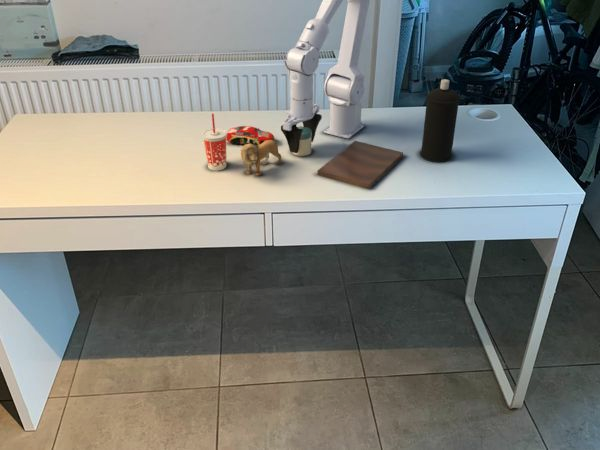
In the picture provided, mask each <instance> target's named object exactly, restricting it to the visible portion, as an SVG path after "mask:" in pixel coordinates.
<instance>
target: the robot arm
mask: <svg viewBox="0 0 600 450" xmlns="http://www.w3.org/2000/svg"><path fill="white" fill-rule="evenodd" d="M343 1H344V0H322V1H321V4H320V6H319V8H318V10H317V13H316V15H315V18H312V19H310V20H308V21H307V23H306V25H305V27H304V29H303V30H302V33H301V35H300V36H299V39H298V41H297V42H296V44H295V46H293V47H292V48H290V49H288V50H287V53H286V55H285V59H284V60H283V64H284V67H285V69H286V70H287V76H288V78H289V106H290V107H289V108H290V109H288V110H286V114H287V116H286V119H285V120H284V121H283V122H282V124H281V125H280V131H281V132H282V134H283V135H284V137H285V139H286V142H287V145H288V148H289V152H291V153H293V152H294V153H297V152H298V150H299V142H300V137H301V134H302V132H303V129H299V128H298V127H299V126H297V125H298V124H300V123H302V127H307V128H310V129H311V130H312V136H311V143H313V142H314V139H315V135H316V132H317V129H318V126H319V124H320V122H321V121H322V117H323V116H322V114H320V113H319V112H320V104H317V103H314V73H315V72H316V71H317V69H318V67H319V63H320V56H321V52H320V51H321V50H322V47H323V46H324V44H325V42H326V40H327V38H328V36H329V34H330V29H329V24H330V22H331V21H332V19H333V17H334V15H335V14H336V13H337V11H338V10H339V8H340V6H341V5H342V3H343ZM346 1H347V7H346V11H345V12H346V13H345V19H344V24H343V29H342V36H341V41H340V47H339V53H338V59H337V64H335V65H334V66H331V68H329V69H328V74H327V77H326V78H325V81H324V84H323V90H324V94H325V95H326V96H327V97H328V98H327V101H330V103H329V127H327V128H326V129H324V130H323V133H324V134H327V135H331V136H334V137H335V136H336V137H338V138H339V137H340V138H344V139H347V140H348V139H350V138H352V137H353V136H355V134H357V133H358V132H359V131H361V130H362V129H363V128H364V124H362V109H363V108H362V107H363V106H362V102H361V100H362V98H363V96H364V93H365V86H364V83H365V74H363V72H362V71H361V70H360V68H359V67H358V64H359V59H360V55H361V54H360V53H361V48H362V43H363V38H364V33H365V27H366V23H367V22H366V21H367V16H368V12H369V6H370V0H346Z"/></svg>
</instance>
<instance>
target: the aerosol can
mask: <svg viewBox="0 0 600 450" xmlns="http://www.w3.org/2000/svg"><path fill="white" fill-rule="evenodd" d="M425 98H426V105H425V114H424V122H423V123H424V124H423V131H422V140H421V141H422V142H421V150H420V151H419V156H420V157H421V158H422V159H423V160H426V161H429V162H432V163H445V162H448V161H450V160H452V158H453V152H452V151H453V146H454V139H455V132H456V124H457V118H458V110H459V103H460V101H461V97H460V95H458V93H457V92H456V91H455V90H453V89H451V88H450V80H449V79H446V78H443V79H441V80H440V86H439V87H437V88H434V89H432V90H431V91H429V93H427V94H426V96H425Z"/></svg>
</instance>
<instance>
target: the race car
mask: <svg viewBox="0 0 600 450" xmlns="http://www.w3.org/2000/svg"><path fill="white" fill-rule="evenodd" d="M226 132H227V137H226V142H228V143H232V144H233V145H235V146H236V145H239V144H240V145H246V144H249V143H250V144H254V145H256V146H259V145H260V144H262V143H263V142H264V141H266V140H273V141H275V142H276V139H275V138H276V137H275V136H274V134H273V133H272V132H270V131H266V130H261V129H260V127H258V128H257V127H255V126H250V125H249V126H248V125H239V126H235V127H231V128H229V129H228V130H227V131H226Z"/></svg>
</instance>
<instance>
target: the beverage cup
mask: <svg viewBox="0 0 600 450" xmlns="http://www.w3.org/2000/svg"><path fill="white" fill-rule="evenodd" d="M211 121H212V128H209V129H205V130H204V131H202V133H201V138H202V140H203V144H204V150H205V156H206V162H207V167H208V169H209V170H211V171H222V170H225V169H226V168H227V140H226V139H227V138H226V137H227V132H228V131H227V130H225V129H223V128H218V127H216V126H215V125H216V124H215V113H211Z"/></svg>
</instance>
